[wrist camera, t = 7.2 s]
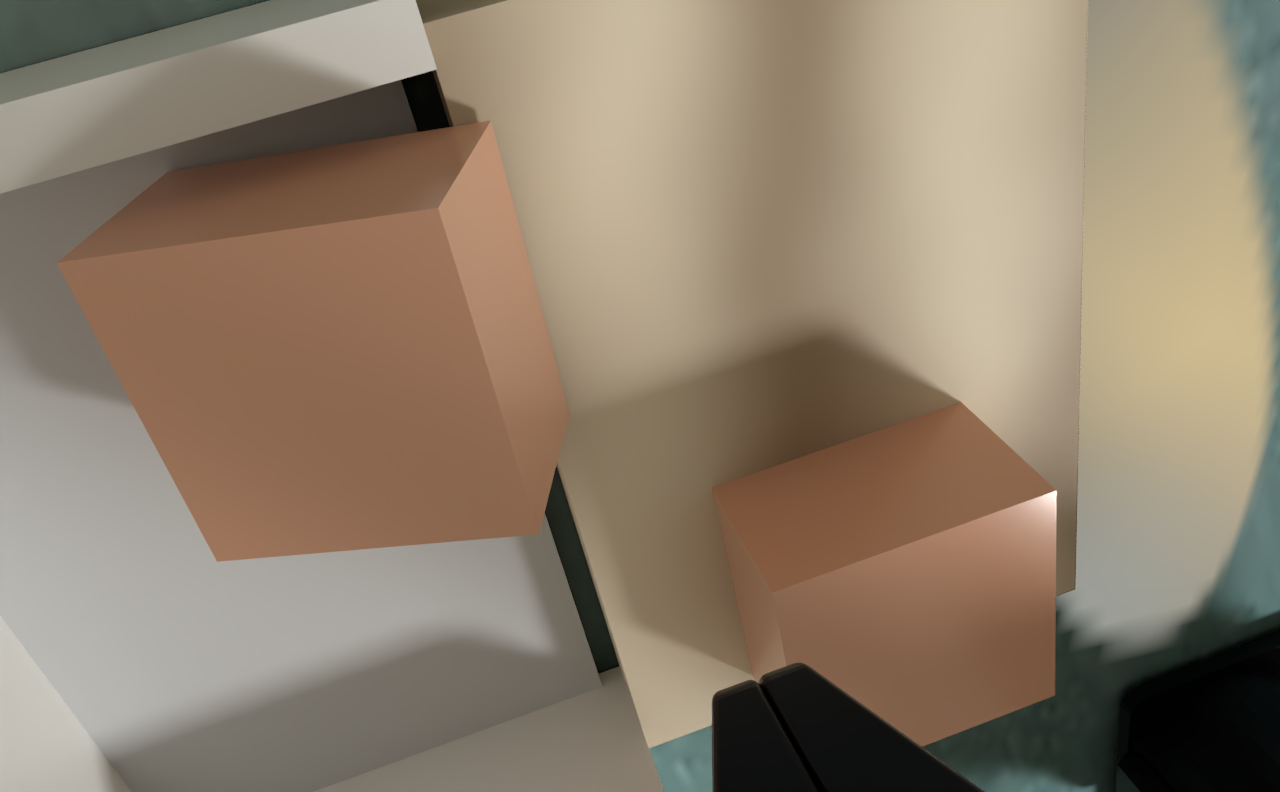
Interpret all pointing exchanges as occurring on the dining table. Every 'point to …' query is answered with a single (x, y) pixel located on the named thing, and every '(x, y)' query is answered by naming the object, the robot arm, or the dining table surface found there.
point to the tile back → (902, 571)
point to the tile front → (334, 344)
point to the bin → (164, 527)
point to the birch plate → (777, 261)
